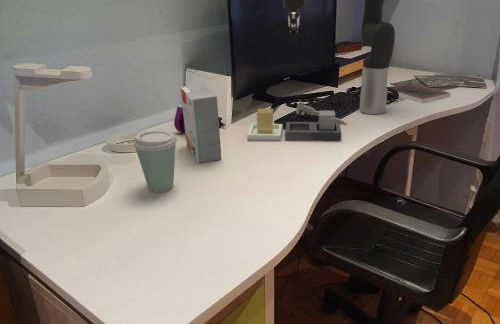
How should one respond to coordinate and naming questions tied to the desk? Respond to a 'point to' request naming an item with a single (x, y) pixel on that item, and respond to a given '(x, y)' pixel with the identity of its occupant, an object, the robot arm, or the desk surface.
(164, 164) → the disposable coffee cup
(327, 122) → the grey upright block
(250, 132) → the parts tray
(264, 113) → the golden yellow block
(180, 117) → the mounting bracket
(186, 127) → the hard drive box
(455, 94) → the desk surface
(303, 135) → the grey metal frame
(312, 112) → the caliper
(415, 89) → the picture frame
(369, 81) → the robot arm
